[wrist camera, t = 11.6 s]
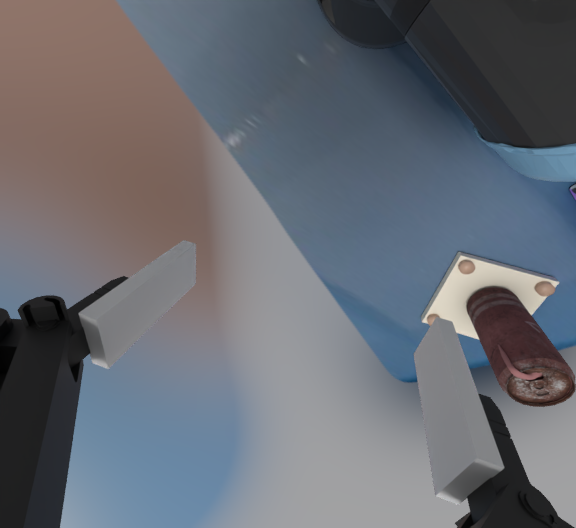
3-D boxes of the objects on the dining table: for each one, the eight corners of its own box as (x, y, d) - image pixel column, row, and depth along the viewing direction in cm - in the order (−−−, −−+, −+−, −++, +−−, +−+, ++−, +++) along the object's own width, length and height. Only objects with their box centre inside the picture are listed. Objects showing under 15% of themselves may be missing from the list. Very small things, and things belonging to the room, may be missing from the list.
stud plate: (458, 251, 38) (462, 258, 36) (554, 277, 36) (562, 285, 35) (421, 316, 44) (422, 325, 43) (501, 341, 43) (506, 351, 41)
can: (482, 277, 38) (530, 355, 26) (528, 296, 37) (599, 384, 25) (454, 309, 41) (486, 391, 29) (496, 327, 40) (546, 418, 29)
